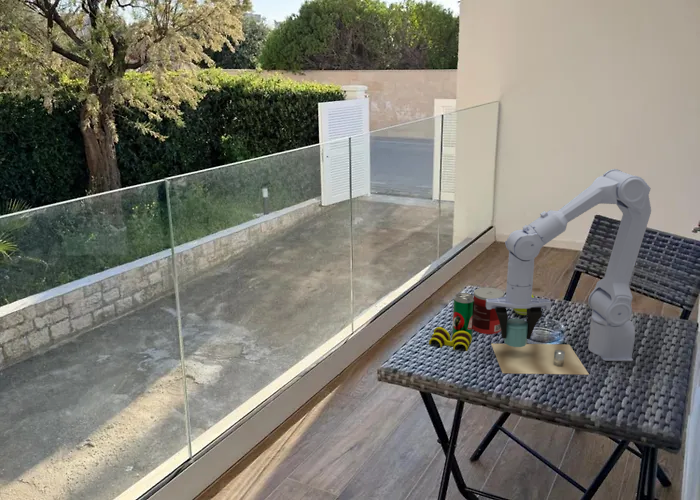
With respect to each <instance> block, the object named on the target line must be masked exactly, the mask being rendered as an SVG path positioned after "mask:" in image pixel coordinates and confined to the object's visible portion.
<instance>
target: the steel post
mask: <svg viewBox="0 0 700 500" xmlns="http://www.w3.org/2000/svg"><path fill="white" fill-rule="evenodd" d="M564 356H565V352H564V351H563V350H555V353H554V363H553V364H554V365H555V366H557V367H562V366H563V365H564Z"/></svg>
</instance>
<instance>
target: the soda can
mask: <svg viewBox="0 0 700 500" xmlns="http://www.w3.org/2000/svg"><path fill="white" fill-rule="evenodd" d="M473 297H474V294H471V293H467V292H457V293H456V294H455V296H454V298H453V306H452V307H453V308H452V309H453V310H452V311H453V312H452V331H451V333H452V334H451V337H452V336H453V335H454V333H456V332H458V331H466V332H468V333H469V334H470V335H471V337H472V338H473V333H474V332H473V316H474V299H473Z"/></svg>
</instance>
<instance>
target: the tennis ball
mask: <svg viewBox="0 0 700 500" xmlns="http://www.w3.org/2000/svg"><path fill="white" fill-rule="evenodd" d="M532 298H535V296H534V294H532ZM512 310H513V311H514V312H515V313H516V314H518V315H520V316H527V309H512Z"/></svg>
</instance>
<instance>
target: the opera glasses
mask: <svg viewBox="0 0 700 500" xmlns="http://www.w3.org/2000/svg"><path fill="white" fill-rule="evenodd" d="M434 341H437V342H438V343H439V345H440V348H442V347H443V346H448V347H452V350H454V351H455V350H456V346H458V345H463V346H464V347H465V351H466V352H467V351H468V348H469V346H470V344H471V343H472V341H473V336H472V337H471V335H470V334H469V333H468V332H466V331H458V332H456V333H454V335H453V336H452V335H450V333H449V331H448V330H447V329H446V328H444V327H443V326H442V327H440V326H437V327H435V328H434V329H433V334H432V336H431V338H430V339H429V341H428V345H432V343H433V342H434Z"/></svg>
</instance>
